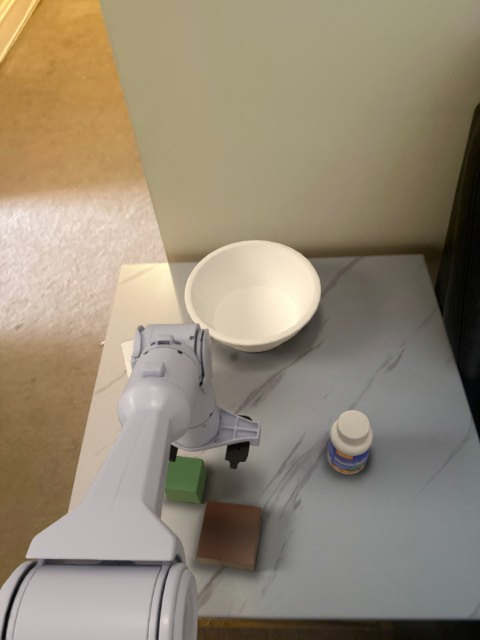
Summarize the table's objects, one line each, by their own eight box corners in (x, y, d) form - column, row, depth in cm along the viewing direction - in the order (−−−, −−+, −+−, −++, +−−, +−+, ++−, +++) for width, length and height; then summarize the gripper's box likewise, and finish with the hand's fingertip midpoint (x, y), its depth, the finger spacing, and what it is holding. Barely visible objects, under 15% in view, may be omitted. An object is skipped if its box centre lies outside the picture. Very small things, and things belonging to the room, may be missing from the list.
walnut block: (254, 571, 69) (253, 565, 67) (199, 563, 70) (195, 556, 68) (262, 515, 73) (261, 507, 71) (209, 508, 74) (207, 500, 72)
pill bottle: (329, 476, 76) (334, 446, 68) (324, 439, 79) (328, 406, 71) (370, 474, 76) (379, 443, 68) (363, 437, 79) (371, 403, 71)
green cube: (200, 504, 75) (196, 492, 71) (168, 499, 76) (162, 487, 72) (207, 472, 78) (203, 458, 74) (175, 468, 78) (170, 454, 75)
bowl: (305, 386, 85) (306, 356, 78) (174, 361, 89) (165, 330, 83) (329, 282, 97) (331, 249, 90) (212, 265, 101) (207, 231, 95)
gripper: (262, 377, 60) (267, 434, 70) (131, 365, 62) (155, 422, 73) (253, 438, 55) (259, 488, 66) (113, 423, 58) (141, 474, 68)
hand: (204, 457), depth 69 cm, fingers open, 7 cm apart
